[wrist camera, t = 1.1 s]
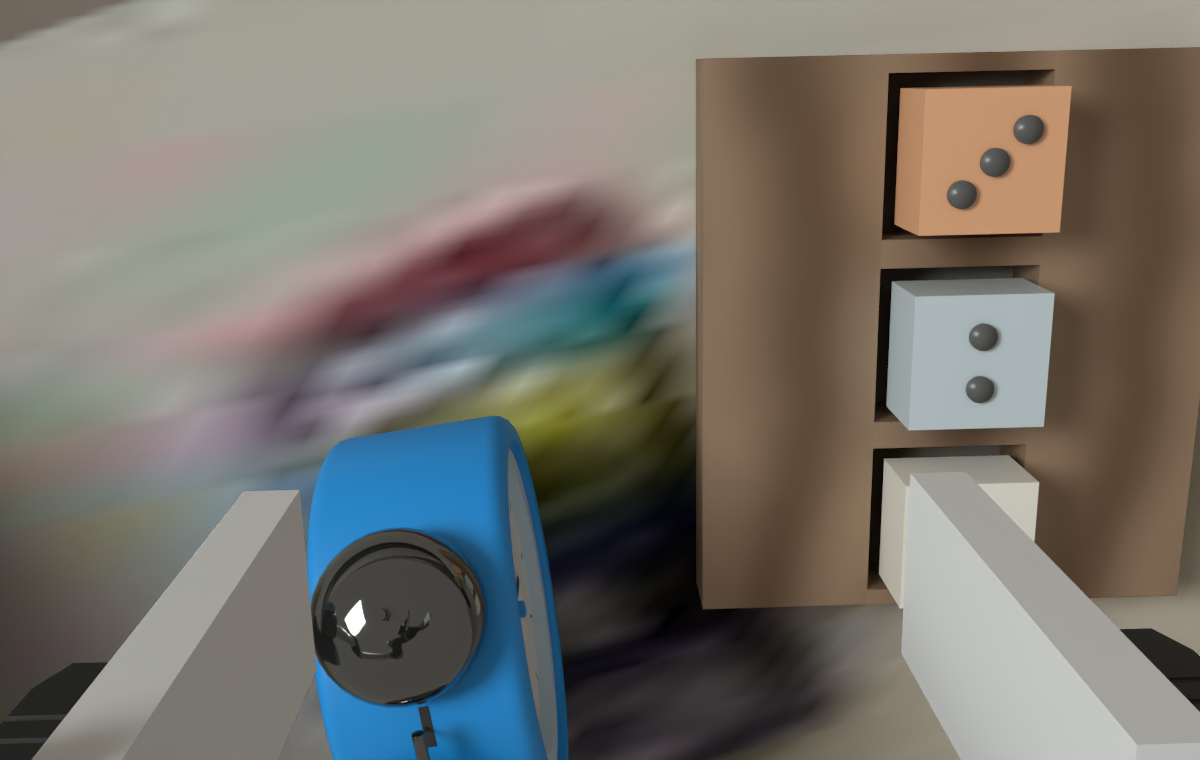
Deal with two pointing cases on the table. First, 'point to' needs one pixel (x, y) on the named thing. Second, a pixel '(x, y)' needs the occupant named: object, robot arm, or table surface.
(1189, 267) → the board
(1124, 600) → the table surface
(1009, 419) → the two-dot tile
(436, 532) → the alarm clock
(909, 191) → the tile
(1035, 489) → the tile
